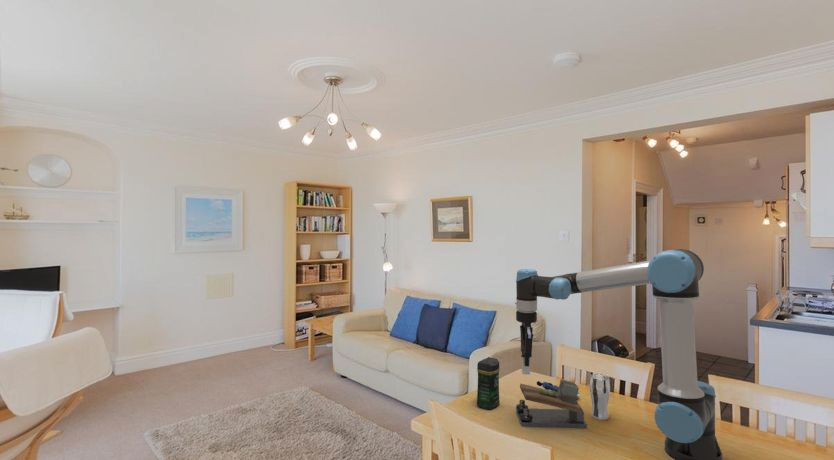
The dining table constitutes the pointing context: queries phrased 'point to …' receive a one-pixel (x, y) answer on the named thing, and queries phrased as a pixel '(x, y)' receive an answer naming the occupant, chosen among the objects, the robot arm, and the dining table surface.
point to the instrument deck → (547, 399)
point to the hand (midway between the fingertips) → (526, 373)
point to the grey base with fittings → (549, 417)
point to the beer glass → (599, 396)
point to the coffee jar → (488, 383)
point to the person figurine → (551, 387)
